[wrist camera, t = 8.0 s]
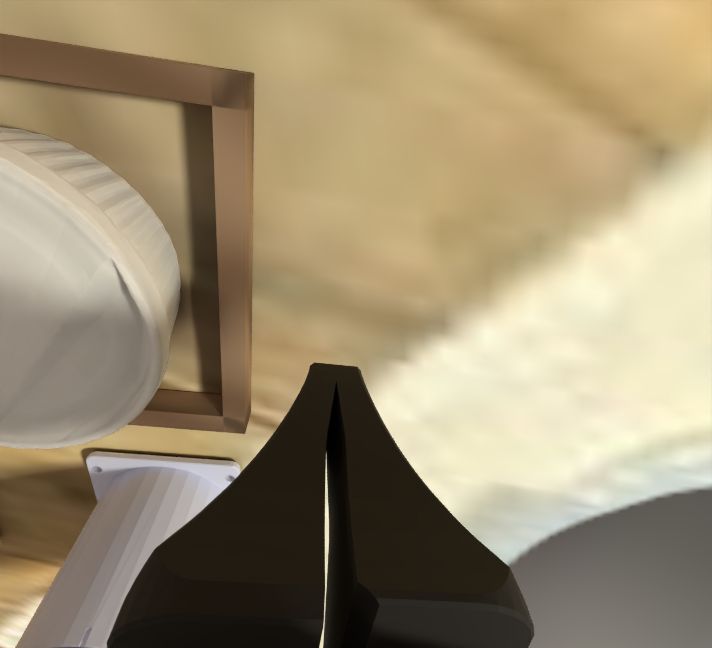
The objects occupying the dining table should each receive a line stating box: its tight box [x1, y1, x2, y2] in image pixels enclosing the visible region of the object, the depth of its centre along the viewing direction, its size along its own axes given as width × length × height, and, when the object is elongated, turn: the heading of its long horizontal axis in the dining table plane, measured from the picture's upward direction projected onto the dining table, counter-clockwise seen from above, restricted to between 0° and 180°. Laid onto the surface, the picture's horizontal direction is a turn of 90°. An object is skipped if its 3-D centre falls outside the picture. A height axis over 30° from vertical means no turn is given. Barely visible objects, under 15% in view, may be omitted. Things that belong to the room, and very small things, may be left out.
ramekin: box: [0, 127, 181, 449], centre depth 15 cm, size 11×11×5 cm
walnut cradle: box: [0, 34, 254, 434], centre depth 16 cm, size 15×14×2 cm
